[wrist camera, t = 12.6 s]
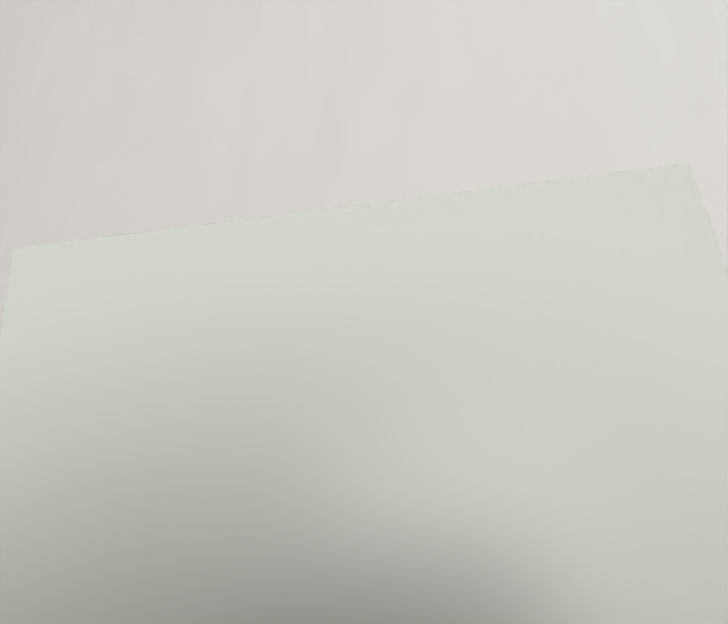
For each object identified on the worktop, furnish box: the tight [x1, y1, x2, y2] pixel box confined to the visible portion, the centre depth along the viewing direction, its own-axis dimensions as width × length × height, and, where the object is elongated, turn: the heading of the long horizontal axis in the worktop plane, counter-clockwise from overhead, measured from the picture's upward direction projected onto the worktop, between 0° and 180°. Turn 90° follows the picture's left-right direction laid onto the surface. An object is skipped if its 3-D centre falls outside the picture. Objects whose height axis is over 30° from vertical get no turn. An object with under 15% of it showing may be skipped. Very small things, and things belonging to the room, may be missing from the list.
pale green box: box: [0, 164, 728, 624], centre depth 10 cm, size 6×6×12 cm
